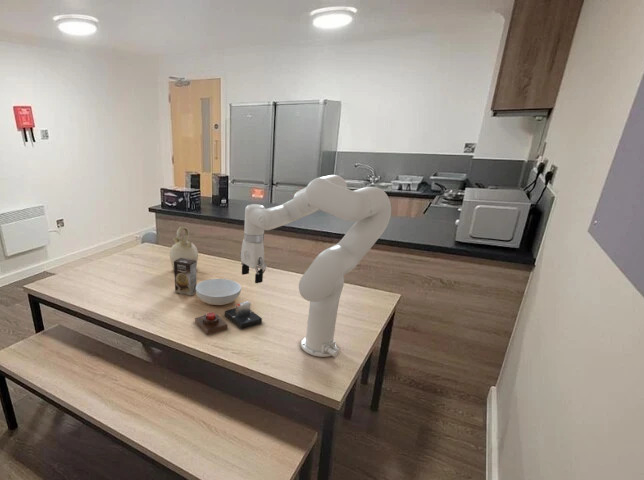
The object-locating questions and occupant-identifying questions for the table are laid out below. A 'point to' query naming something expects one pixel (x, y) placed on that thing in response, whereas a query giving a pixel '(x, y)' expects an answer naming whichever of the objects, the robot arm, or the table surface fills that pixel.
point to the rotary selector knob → (243, 308)
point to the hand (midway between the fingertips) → (251, 278)
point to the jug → (183, 248)
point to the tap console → (243, 319)
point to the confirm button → (210, 316)
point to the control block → (211, 324)
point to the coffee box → (185, 276)
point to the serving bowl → (218, 291)
